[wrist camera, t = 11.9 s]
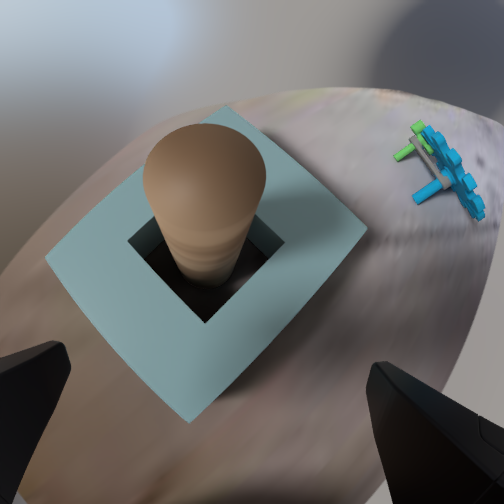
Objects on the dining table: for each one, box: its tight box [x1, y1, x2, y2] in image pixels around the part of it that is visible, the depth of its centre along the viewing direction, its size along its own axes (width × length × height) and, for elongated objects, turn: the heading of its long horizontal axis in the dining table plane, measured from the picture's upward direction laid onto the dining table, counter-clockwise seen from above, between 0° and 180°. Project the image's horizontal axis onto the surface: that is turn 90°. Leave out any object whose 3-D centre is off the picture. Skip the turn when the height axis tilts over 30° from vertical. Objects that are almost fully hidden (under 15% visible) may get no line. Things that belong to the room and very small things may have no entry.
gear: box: [393, 120, 485, 222], centre depth 24 cm, size 11×6×10 cm
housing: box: [45, 105, 368, 423], centre depth 19 cm, size 16×13×4 cm
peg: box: [143, 123, 266, 289], centre depth 15 cm, size 4×4×12 cm
